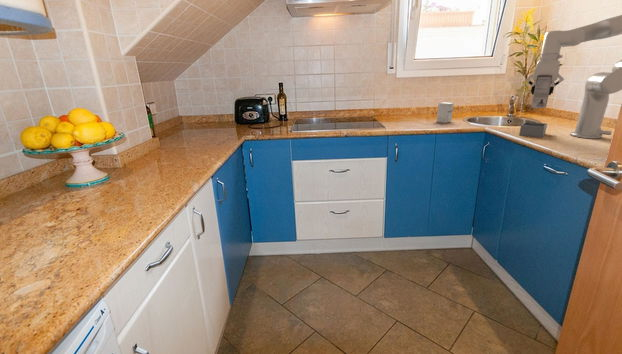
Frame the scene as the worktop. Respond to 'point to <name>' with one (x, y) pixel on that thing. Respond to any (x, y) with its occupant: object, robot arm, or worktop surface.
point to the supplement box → (444, 112)
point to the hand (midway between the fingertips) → (541, 94)
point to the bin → (533, 129)
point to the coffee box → (541, 91)
